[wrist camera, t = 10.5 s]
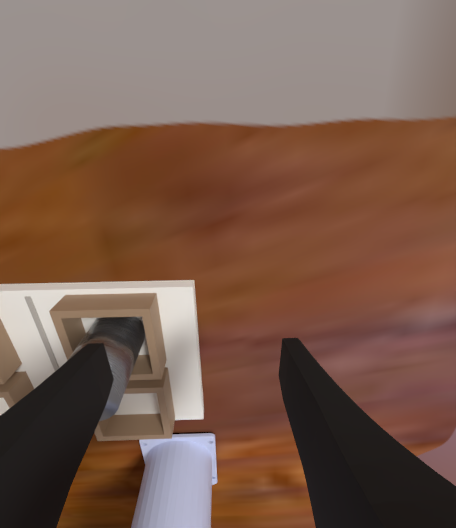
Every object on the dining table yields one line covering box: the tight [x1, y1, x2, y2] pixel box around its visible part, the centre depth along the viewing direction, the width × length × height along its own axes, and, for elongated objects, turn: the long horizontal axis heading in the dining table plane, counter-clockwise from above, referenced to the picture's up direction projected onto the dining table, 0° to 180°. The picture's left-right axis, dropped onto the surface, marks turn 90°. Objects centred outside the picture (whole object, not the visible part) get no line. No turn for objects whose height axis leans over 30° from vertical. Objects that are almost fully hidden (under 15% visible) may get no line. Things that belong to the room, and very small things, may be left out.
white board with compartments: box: [0, 280, 204, 441], centre depth 19 cm, size 15×24×7 cm, turn 91°
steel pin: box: [67, 317, 146, 421], centre depth 18 cm, size 4×4×6 cm
